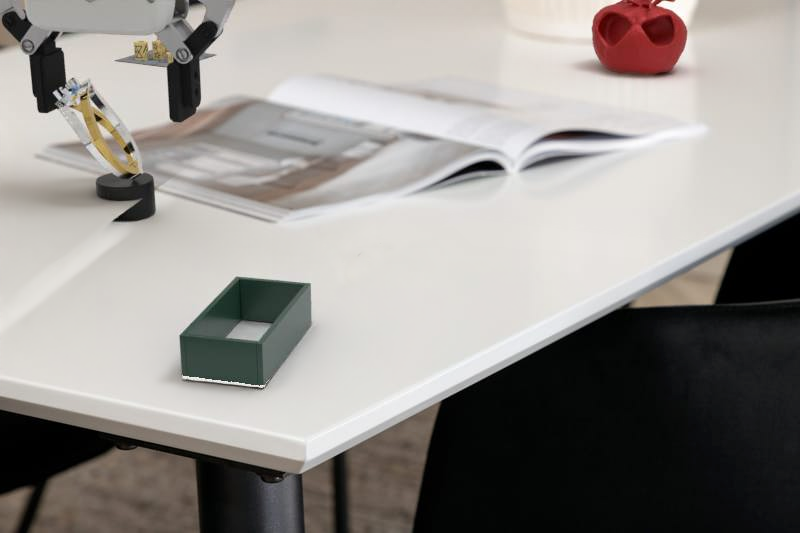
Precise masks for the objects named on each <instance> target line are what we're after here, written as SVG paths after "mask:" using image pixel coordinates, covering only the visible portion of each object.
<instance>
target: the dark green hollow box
mask: <svg viewBox="0 0 800 533" xmlns="http://www.w3.org/2000/svg"><path fill="white" fill-rule="evenodd" d="M241 320H245V321H255V322H266V323H271V325H270V326H269V328H267V330H266V331H265V332H264V333H263V335H262V336H261V337H260V338H259V340H253V339H251V340H250V339H241V338H232V337H227V336H228V335H229V334H230V333H231V331H232V330H233V329H234V328H235V327H236V326H237V325H238V324H239V322H240V321H241ZM312 320H313V319H312V283H310V282H301V281H290V280H279V279H270V278H269V279H268V278H258V277H257V278H256V277H248V276H247V277H245V276H235V277H234V278H233V280H231V281H230V283H228V284H227V286H226V287H224V289H223V290H222V291H220V293H219V294H218V295H217V296H216V297H215V298H214V299H213V300H212V301H211V302H210V303H209V304H208V305H207V306H206V307H205V308H204V309H203V310H202V311H201V312H200V313H199V314H198V315H197V317H196V318H194V320H192V321H191V323H190V324H189V325H188V326H187V327H186V328H185V329H184V330H183V331H182V332H181V333H180V334H179V336H178V337H179V351H180V353H179V354H180V367H181V368H180V369H181V376H182V375H183V376H189V377H199V378H205V379H212V380H221V381H228V382H231V381H232V382H239V383H245V384H251V385H259V386H260V385H265V384H266V382H267V381H268V380H269V379H270V378H271V377H272V375H273V376H275V374H276V373H277V371H278V370H279V369H280V367H281V366H282V365H283V363H284V362H285V360H286V359H287V358H288V357H289V355H290V354H291V353H292V351H293V349H294V348H295V347H297V345H298V343H299V342H300V341H301V339H302V338H303V337H304V335H305V334H306V332H307V331H308V330H309V329H310V327H311V326H312V323H313V322H312ZM278 368H279V369H278ZM275 372H276V373H275ZM274 373H275V374H274ZM272 378H273V377H272ZM272 378H271V379H272ZM271 379H270V380H271Z"/></svg>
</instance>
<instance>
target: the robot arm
mask: <svg viewBox="0 0 800 533" xmlns="http://www.w3.org/2000/svg"><path fill="white" fill-rule="evenodd" d="M197 1H198V2H200V3H201V4H203V5H204V7H205V13H204V14H203V19H202V21H201V23H200V24H199V25H198V26H197V27H196V28H195V29H194V28H193V27H192V25H191V24H190V23H189V22H188V20H187V17H188V13H189V8H190V0H23V2H24V3H23V4H24V9H23V8H22V3H21V1H20V0H0V17H1V23H2V24H1V25H2V26H3V27H4V29H5V30H7V31H8V32H9V34H10V35H11V36H12V37H13V38H14V39H15V40H16V41H17V42H18V43H19V48H20V50H21V52H22V53H23V54H25V55H28V59H29V68H30V79H31V89H32V90H31V91H32V95H33V97H34V98H36V108H37V112H38V113H39V114H49V113H51V112H53V111H55V110H58V109H57V108H56V107H55V106H54V105H53V104H54V103H55V102H57V101H58V99H57V97H56V96H55V95H54V94H53V92H54V91H56V90H57V91H58V92H59V94H60V95H62V93H61V92H60V91H59V90H58V89H59V88H60V87H62V88H65V87H64V86H65V85H66V83H67V72H66V62H65V53H64V51H63V49H62V47H58V46H57V44H56V43H57V41H58V40H59V38H60V37H61V36H62V34H63V33H76V34H77V33H78V34H91V35H92V34H93V35H94V34H96V35H114V36H133V37H135V36H137V37H139V36H142V37H143V36H151V35H155V36H156V38H157V37H158V39H159V40H160V41H161V42H162V43H163V45H164V46H165V47H166V48H167V50H168V51H169V52H170V53H171V55H172V56H173V62H172V63H170V64H168V66H167V67H166V77H167V94H168V95H167V96H168V98H167V99H168V116H169V120H170V121H172V122H173V123H181V124H182V123H183V122H185V121H186V120H188V119H189V118H191V117H193V116H194V115H195V114H196V113H197V108H199V107H200V105H201V103H202V87H201V85H202V84H201V65H200V61H201V60H199V57H200V56H202V55H203V54H204V53H206V51H207V50H208V49H209V48H210V46H211V45H212V44H213V43H214V42H215V41H217V39H218V38H219V37H220V36H221V35H222V34H223V33H224V27H225V25H226V23H227V22H228V20H229V18H230V15H231V13H232V11H233V10H234V9H233V8H235V7H234V6H235V4H236V2H237V1H236V0H197Z"/></svg>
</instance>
